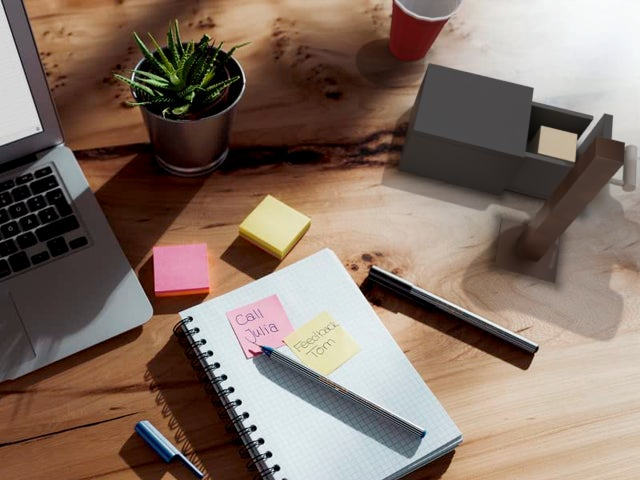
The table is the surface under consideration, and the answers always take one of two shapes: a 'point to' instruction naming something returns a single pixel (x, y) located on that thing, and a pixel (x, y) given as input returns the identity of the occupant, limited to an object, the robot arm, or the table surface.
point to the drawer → (547, 173)
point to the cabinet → (467, 129)
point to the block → (554, 144)
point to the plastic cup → (418, 25)
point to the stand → (558, 213)
